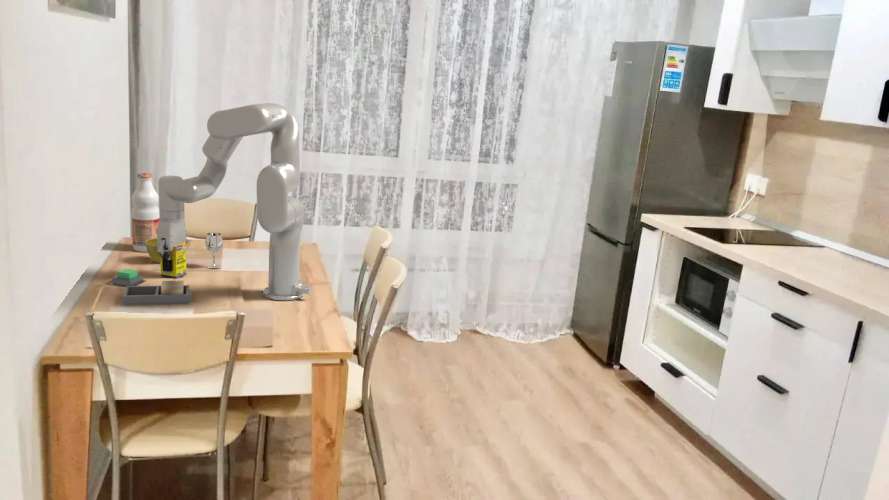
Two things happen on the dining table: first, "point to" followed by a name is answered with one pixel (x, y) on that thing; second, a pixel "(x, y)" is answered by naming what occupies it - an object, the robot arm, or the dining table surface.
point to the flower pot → (153, 250)
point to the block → (172, 287)
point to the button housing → (127, 281)
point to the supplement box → (176, 262)
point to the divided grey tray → (153, 296)
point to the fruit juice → (144, 212)
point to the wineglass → (214, 245)
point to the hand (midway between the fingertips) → (173, 267)
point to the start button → (127, 274)
